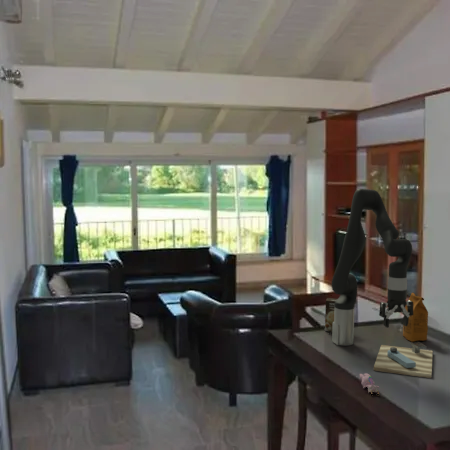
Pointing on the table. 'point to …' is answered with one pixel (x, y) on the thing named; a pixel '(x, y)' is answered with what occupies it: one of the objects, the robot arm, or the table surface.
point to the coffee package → (417, 321)
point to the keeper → (417, 347)
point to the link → (401, 359)
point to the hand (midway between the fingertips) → (395, 326)
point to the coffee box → (329, 313)
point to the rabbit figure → (368, 383)
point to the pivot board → (393, 366)
